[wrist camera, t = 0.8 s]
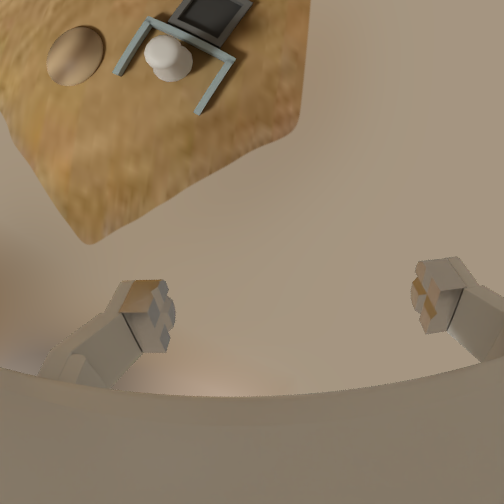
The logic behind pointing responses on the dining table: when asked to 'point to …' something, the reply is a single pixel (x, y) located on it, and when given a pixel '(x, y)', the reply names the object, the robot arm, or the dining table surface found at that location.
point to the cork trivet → (74, 56)
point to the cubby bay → (186, 38)
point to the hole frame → (209, 18)
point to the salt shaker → (168, 58)
